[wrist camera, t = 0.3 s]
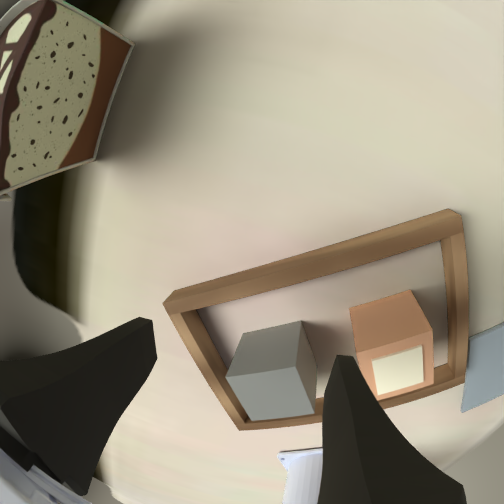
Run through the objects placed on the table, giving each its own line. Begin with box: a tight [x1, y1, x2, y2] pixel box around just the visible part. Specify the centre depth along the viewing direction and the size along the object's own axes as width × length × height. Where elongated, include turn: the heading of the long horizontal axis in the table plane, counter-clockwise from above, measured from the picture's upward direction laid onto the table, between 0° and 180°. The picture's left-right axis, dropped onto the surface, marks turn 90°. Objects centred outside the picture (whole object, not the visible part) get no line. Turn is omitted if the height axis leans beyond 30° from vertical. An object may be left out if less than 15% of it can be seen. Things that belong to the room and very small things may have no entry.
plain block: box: [225, 321, 317, 421], centre depth 19 cm, size 4×4×5 cm
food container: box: [0, 0, 135, 202], centre depth 13 cm, size 12×6×10 cm, turn 157°
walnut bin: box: [163, 209, 469, 431], centre depth 19 cm, size 14×20×2 cm
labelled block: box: [349, 290, 434, 401], centre depth 17 cm, size 4×4×5 cm
